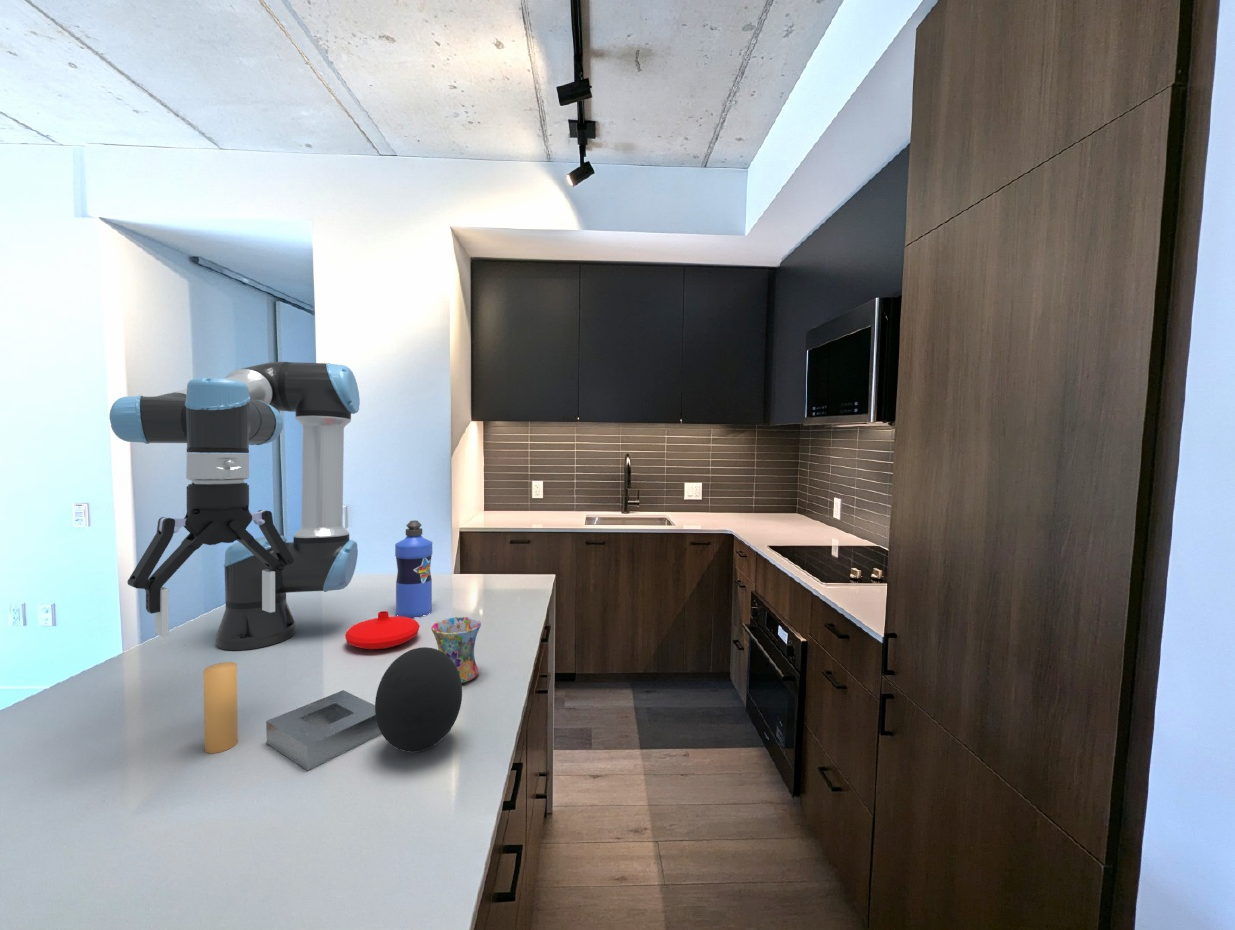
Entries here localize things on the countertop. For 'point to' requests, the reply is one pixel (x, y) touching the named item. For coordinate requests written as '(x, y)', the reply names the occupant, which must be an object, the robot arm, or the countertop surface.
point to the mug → (458, 643)
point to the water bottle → (413, 573)
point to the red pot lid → (382, 631)
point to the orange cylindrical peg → (220, 707)
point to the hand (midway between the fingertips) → (219, 622)
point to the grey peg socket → (323, 729)
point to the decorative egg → (418, 699)
